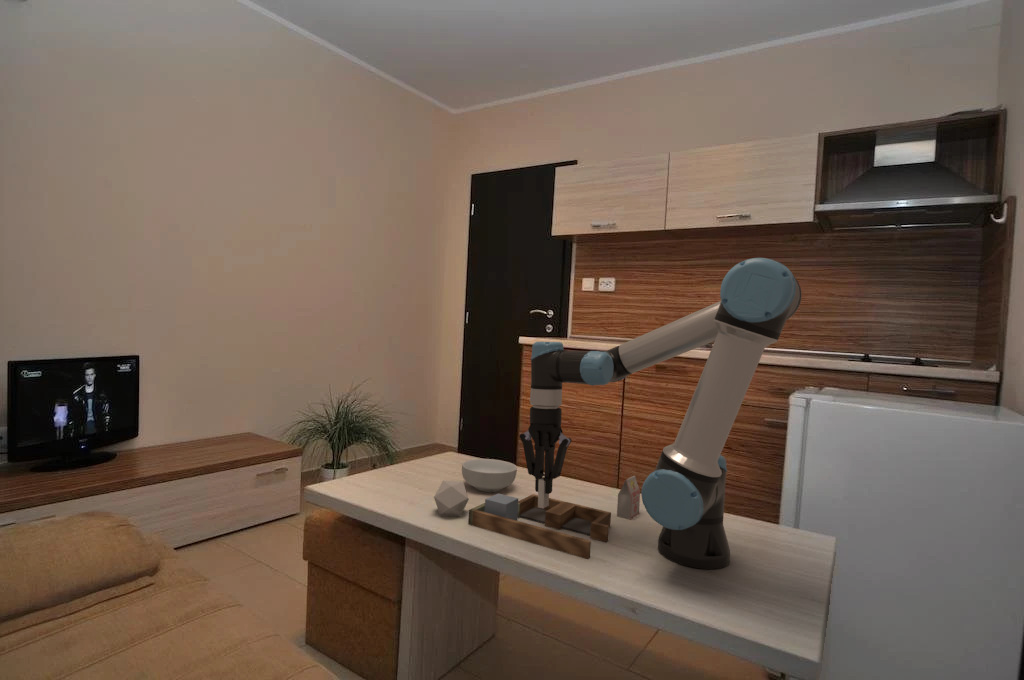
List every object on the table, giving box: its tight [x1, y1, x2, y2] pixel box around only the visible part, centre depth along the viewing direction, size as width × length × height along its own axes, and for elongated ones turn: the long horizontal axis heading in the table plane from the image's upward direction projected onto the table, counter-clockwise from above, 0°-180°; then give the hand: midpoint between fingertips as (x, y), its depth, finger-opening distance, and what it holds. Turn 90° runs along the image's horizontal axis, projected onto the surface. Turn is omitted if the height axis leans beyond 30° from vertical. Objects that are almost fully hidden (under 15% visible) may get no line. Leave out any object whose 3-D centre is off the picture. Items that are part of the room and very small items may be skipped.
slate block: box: [484, 493, 519, 521], centre depth 125 cm, size 6×6×6 cm
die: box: [433, 480, 469, 517], centre depth 130 cm, size 8×9×10 cm
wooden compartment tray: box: [467, 493, 612, 560], centre depth 124 cm, size 31×22×4 cm
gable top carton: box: [616, 475, 641, 520], centre depth 136 cm, size 4×7×10 cm, turn 146°
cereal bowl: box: [461, 458, 518, 493], centre depth 154 cm, size 17×17×7 cm
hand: (543, 506), depth 119 cm, fingers closed
